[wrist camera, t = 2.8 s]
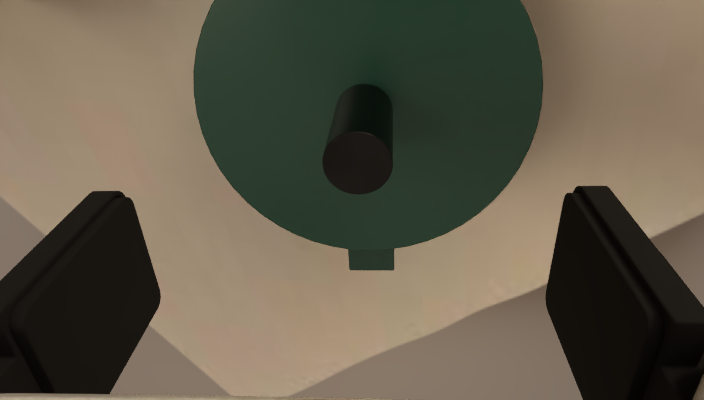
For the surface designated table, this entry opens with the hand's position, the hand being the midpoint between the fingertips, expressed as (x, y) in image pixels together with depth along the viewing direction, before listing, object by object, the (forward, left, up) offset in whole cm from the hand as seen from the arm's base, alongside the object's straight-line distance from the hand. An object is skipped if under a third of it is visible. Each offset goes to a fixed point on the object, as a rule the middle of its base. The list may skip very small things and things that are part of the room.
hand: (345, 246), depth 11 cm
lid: (0, +1, -12) cm, 12 cm away
